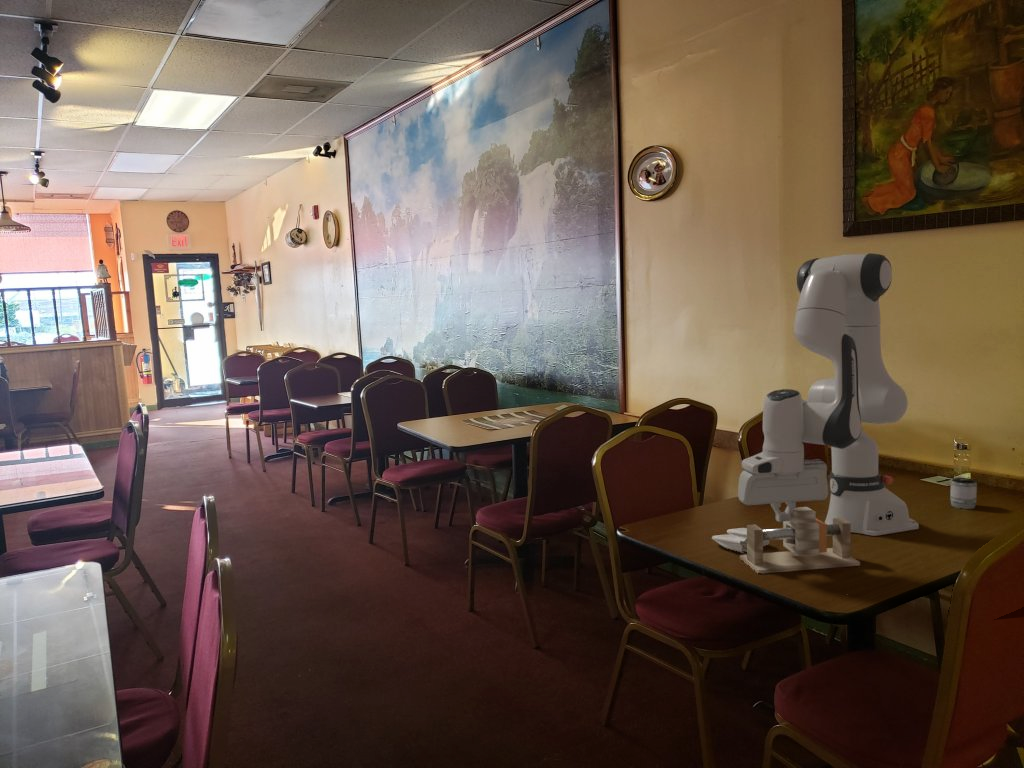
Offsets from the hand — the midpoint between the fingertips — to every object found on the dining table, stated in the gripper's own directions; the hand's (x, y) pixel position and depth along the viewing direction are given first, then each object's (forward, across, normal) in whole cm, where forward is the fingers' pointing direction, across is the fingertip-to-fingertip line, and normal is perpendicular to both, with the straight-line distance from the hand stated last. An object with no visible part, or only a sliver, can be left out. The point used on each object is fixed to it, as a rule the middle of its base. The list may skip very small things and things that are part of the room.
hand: (783, 520), depth 166 cm
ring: (+7, -8, 0) cm, 10 cm away
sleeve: (+7, -4, 0) cm, 8 cm away
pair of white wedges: (+11, +4, -14) cm, 18 cm away
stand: (+10, -4, 0) cm, 11 cm away
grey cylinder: (+10, -69, -31) cm, 76 cm away
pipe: (+4, -4, 0) cm, 6 cm away
